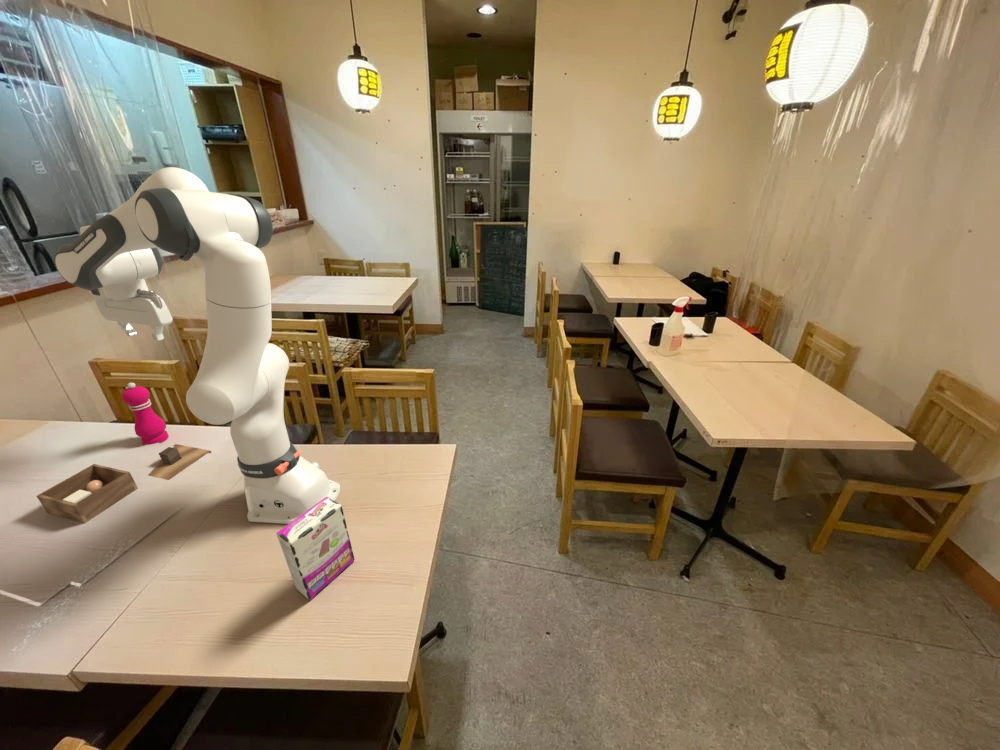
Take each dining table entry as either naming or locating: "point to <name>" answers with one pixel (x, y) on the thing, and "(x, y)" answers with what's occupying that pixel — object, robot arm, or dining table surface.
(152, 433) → the pepper mill
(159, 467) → the lid
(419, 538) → the dining table surface
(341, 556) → the candy bar box
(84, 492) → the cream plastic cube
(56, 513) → the walnut box
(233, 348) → the robot arm
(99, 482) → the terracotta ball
